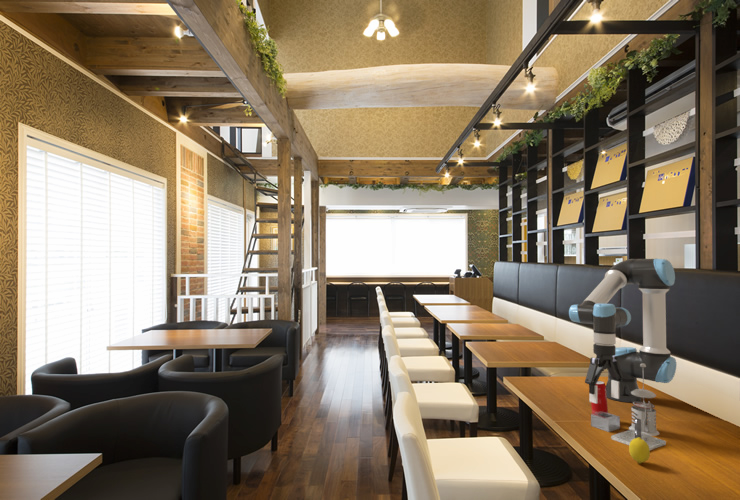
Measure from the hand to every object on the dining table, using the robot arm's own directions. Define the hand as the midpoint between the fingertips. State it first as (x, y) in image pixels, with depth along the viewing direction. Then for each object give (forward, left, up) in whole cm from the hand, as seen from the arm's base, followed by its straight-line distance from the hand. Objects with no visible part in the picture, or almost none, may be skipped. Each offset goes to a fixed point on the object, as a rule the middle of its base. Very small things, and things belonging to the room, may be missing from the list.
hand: (604, 400), depth 168 cm
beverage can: (-6, -6, -10) cm, 13 cm away
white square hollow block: (0, 0, -10) cm, 10 cm away
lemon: (+20, +24, -11) cm, 32 cm away
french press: (-9, +10, -11) cm, 17 cm away
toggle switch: (+3, +14, -10) cm, 17 cm away
